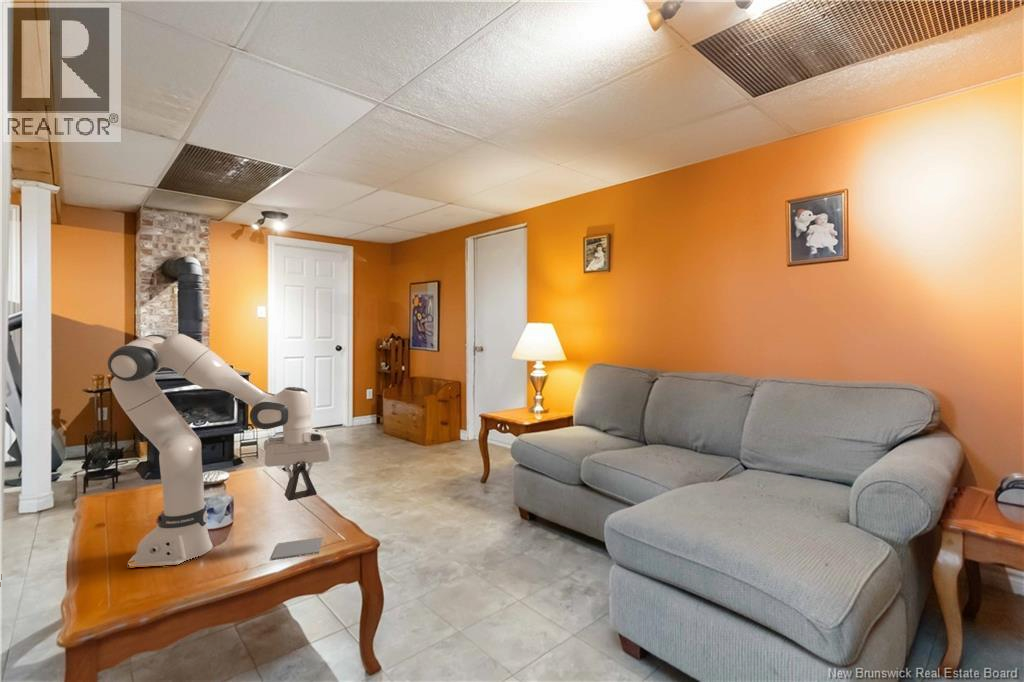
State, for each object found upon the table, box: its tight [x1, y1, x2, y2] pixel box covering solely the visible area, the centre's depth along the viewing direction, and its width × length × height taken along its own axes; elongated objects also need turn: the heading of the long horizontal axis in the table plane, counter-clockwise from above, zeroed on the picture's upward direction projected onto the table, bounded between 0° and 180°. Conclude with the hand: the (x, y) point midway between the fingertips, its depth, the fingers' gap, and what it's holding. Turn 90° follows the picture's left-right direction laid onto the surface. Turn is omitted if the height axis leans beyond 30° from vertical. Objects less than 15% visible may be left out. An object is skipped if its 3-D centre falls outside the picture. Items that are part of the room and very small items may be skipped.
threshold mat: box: [270, 536, 323, 561], centre depth 161 cm, size 14×11×1 cm
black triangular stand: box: [284, 461, 318, 502], centre depth 164 cm, size 9×6×12 cm, turn 125°
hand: (299, 476), depth 164 cm, fingers closed on black triangular stand, 3 cm apart
